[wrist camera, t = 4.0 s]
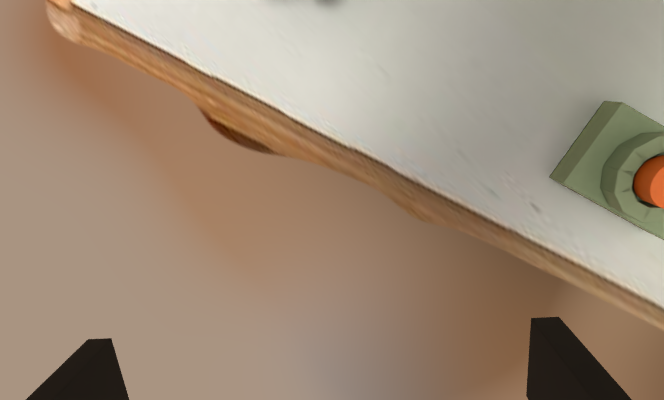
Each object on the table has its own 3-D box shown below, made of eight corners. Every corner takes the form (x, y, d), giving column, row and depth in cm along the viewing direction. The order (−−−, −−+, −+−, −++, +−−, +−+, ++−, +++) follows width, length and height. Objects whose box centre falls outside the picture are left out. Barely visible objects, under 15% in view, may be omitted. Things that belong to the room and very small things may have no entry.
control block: (706, 160, 31) (755, 170, 28) (646, 231, 33) (684, 250, 30) (604, 100, 31) (639, 103, 27) (548, 177, 32) (575, 189, 29)
